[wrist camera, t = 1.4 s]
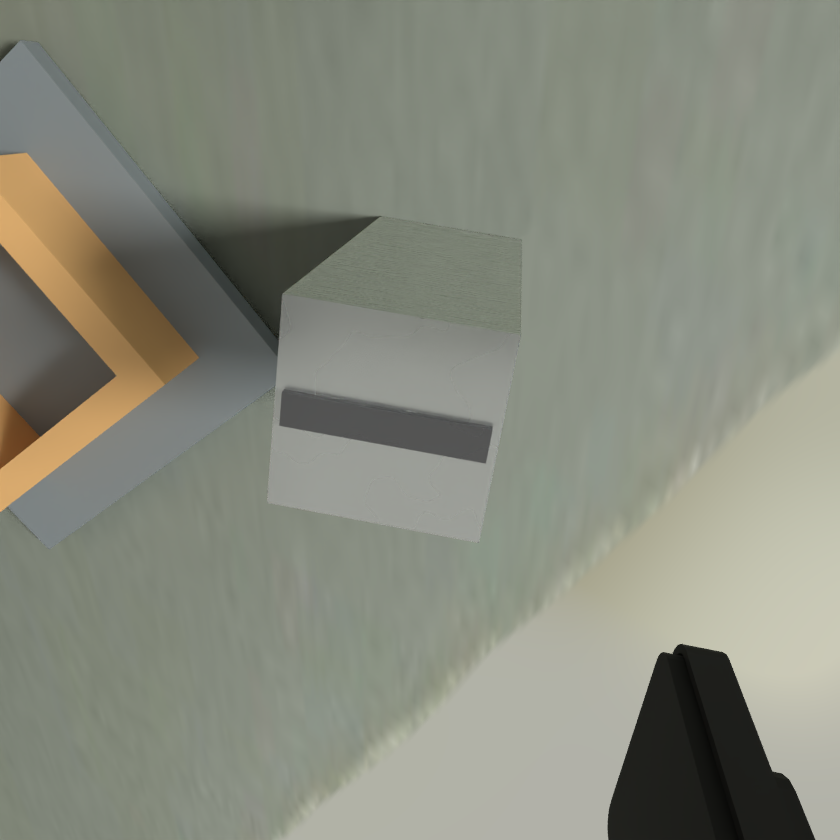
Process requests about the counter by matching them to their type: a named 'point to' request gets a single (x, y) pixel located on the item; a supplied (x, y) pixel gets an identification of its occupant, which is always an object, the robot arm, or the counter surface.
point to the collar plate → (102, 313)
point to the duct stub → (397, 378)
